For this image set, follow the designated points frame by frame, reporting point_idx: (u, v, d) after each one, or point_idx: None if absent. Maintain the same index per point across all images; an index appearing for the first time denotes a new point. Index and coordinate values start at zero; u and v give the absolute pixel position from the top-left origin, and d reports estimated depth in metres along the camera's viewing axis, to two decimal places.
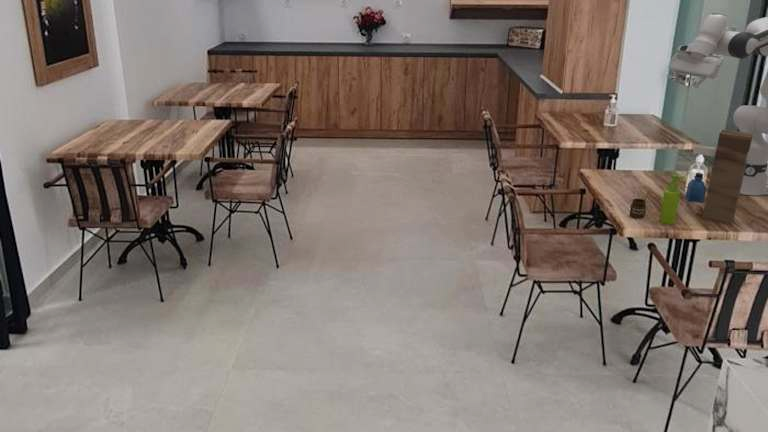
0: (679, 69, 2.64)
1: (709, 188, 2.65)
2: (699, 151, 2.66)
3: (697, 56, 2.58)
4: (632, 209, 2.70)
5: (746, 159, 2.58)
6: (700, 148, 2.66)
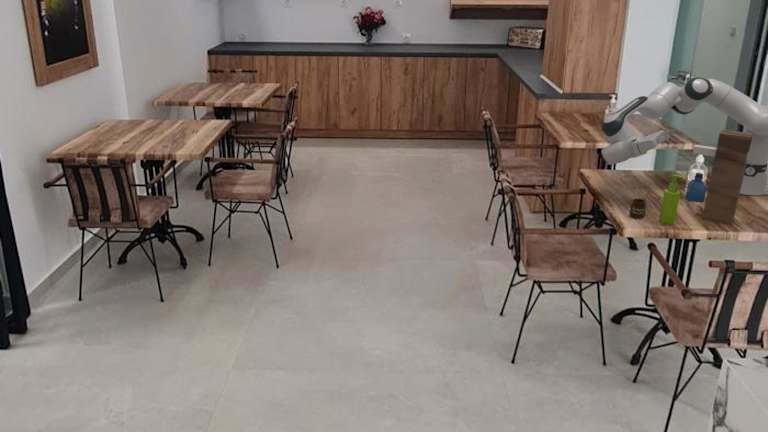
0: (655, 136, 2.71)
1: (709, 188, 2.65)
2: (699, 151, 2.66)
3: None
4: (632, 209, 2.70)
5: (746, 159, 2.58)
6: (700, 148, 2.66)
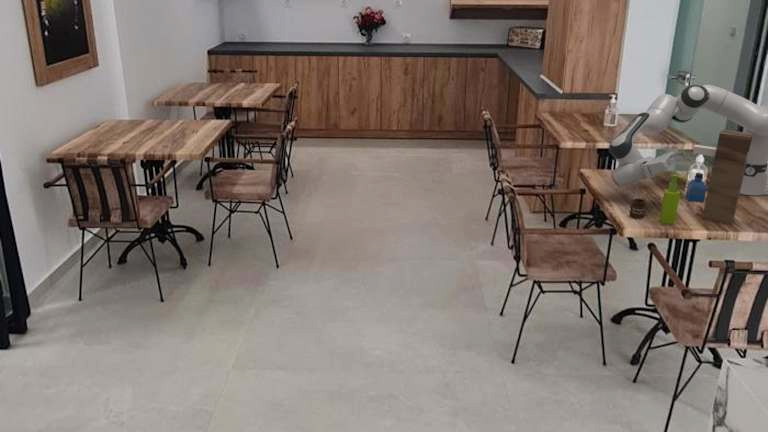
0: (666, 158, 2.71)
1: (709, 188, 2.65)
2: (699, 151, 2.66)
3: None
4: (632, 209, 2.70)
5: (746, 159, 2.58)
6: (700, 148, 2.66)
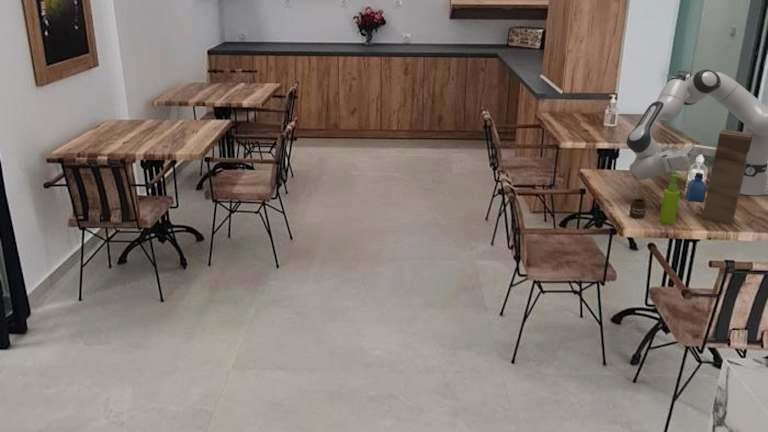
0: (686, 152, 2.66)
1: (709, 188, 2.65)
2: None
3: None
4: (632, 209, 2.70)
5: (746, 159, 2.58)
6: (700, 148, 2.66)
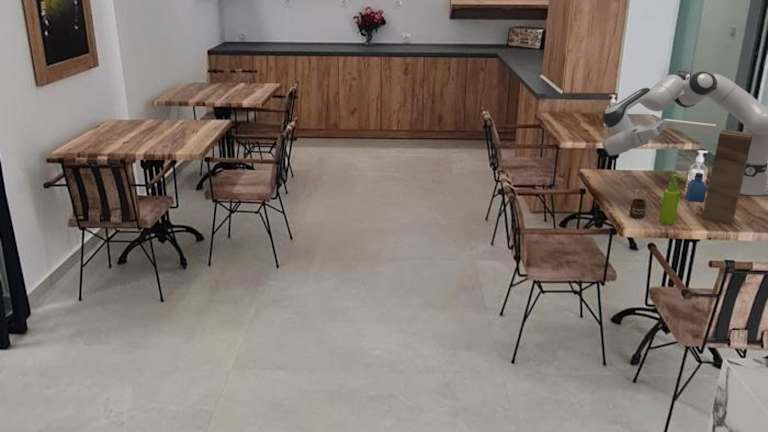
0: (656, 125, 2.70)
1: (709, 188, 2.65)
2: None
3: None
4: (632, 209, 2.70)
5: (714, 131, 2.62)
6: None
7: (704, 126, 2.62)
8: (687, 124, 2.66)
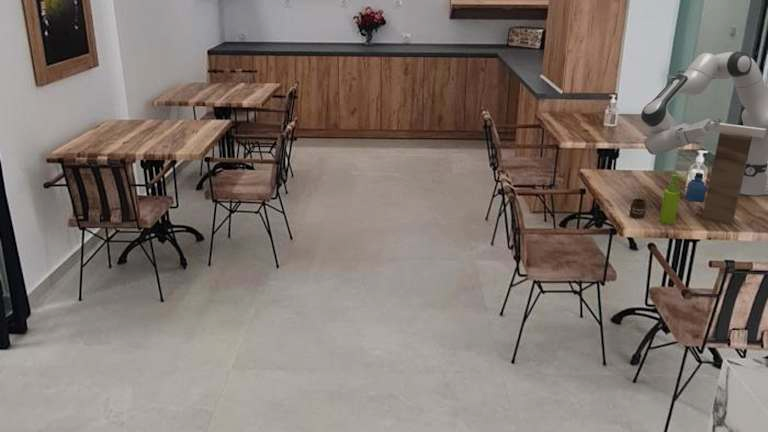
0: (703, 124, 2.60)
1: (709, 188, 2.65)
2: (715, 128, 2.60)
3: None
4: (632, 209, 2.70)
5: (764, 135, 2.52)
6: None
7: (753, 130, 2.53)
8: (735, 128, 2.56)
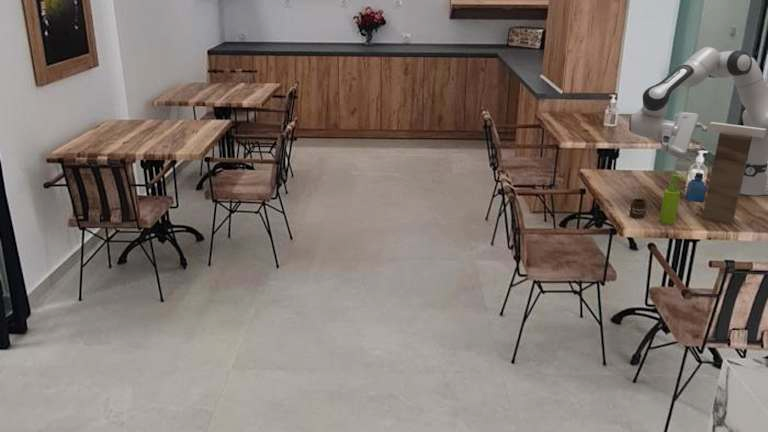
0: (688, 142, 2.66)
1: (709, 188, 2.65)
2: (715, 128, 2.60)
3: (677, 126, 2.69)
4: (632, 209, 2.70)
5: (764, 135, 2.52)
6: (716, 125, 2.60)
7: (753, 130, 2.53)
8: (735, 128, 2.56)
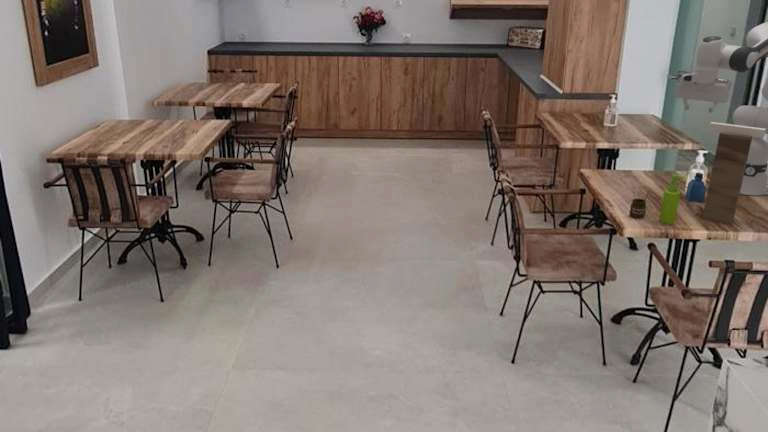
0: (689, 98, 2.72)
1: (709, 188, 2.65)
2: (715, 128, 2.60)
3: (705, 85, 2.66)
4: (632, 209, 2.70)
5: (764, 135, 2.52)
6: (716, 125, 2.60)
7: (753, 130, 2.53)
8: (735, 128, 2.56)
